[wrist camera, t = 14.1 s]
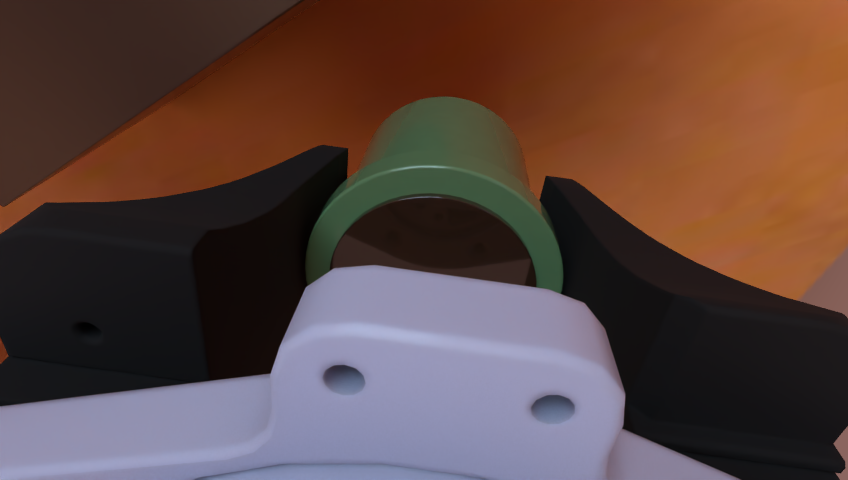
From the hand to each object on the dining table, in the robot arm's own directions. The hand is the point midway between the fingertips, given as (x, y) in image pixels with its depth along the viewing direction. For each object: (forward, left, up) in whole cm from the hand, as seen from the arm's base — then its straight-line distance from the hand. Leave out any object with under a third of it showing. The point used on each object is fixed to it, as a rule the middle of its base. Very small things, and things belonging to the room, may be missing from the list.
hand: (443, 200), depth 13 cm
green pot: (0, 0, -1) cm, 1 cm away
